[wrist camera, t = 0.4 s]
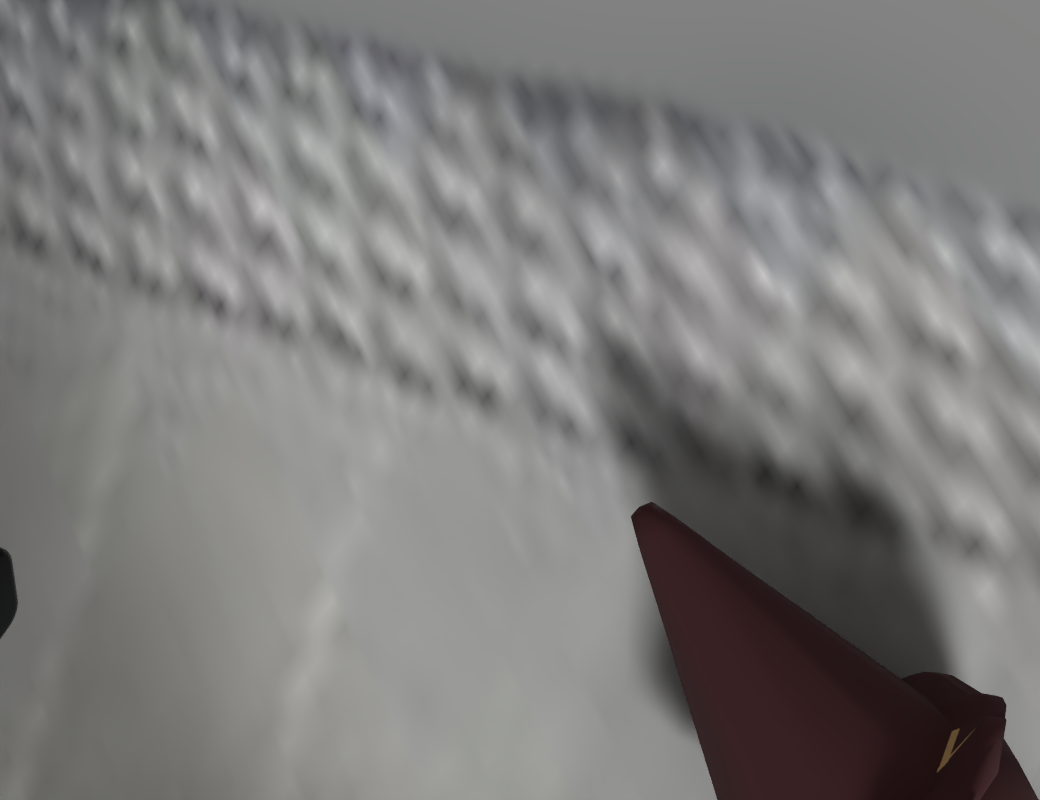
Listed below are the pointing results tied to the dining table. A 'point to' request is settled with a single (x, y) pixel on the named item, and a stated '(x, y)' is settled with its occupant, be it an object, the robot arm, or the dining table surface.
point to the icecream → (811, 693)
